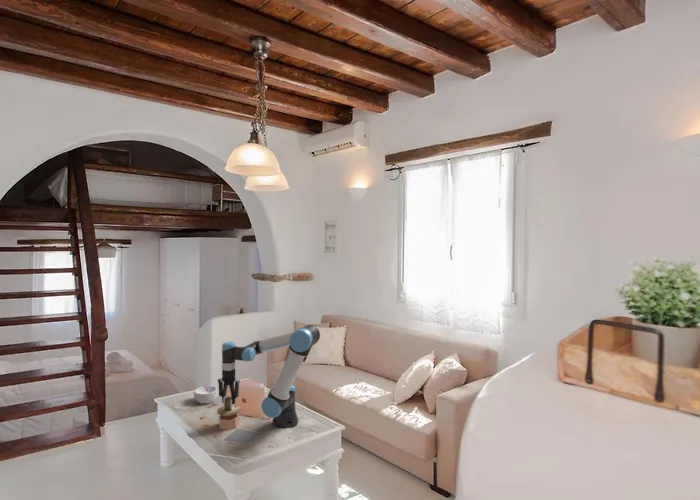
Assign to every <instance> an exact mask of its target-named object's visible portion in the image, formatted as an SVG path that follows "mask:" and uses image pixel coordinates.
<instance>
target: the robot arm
mask: <svg viewBox="0 0 700 500" xmlns="http://www.w3.org/2000/svg"><path fill="white" fill-rule="evenodd" d="M320 338H321V332H320V329H319V328H318V327H317V326H316V325H313V324H307V325H304V326H303V327H299V328H297V329H296V330H295V331H292V332H287V333H284V334H279V335H276V336H273V337H269V338H266V339H265V338H264V339H262V340H261V339H260V340H256V341H253V342H252V343H249V344H247V345H245V346H236V342H234V341H227V342H223V343H222V344H221V345H222V347H221V369H222V370H221V376H222V377H221V378H219V379H217V382H218V383H217V384H218V395H219V397H221V398H222V399H221V401H222V405H223V406H222V407H223V409H225V397H228V395H227V390H228V388H229V390H230V395H231V397H232V398H231V399H230V410H232V409H234V405H235V404H236V399H237V398H238V397H239V389H240V383H241V380H239V379H238V380H237V378H236V361H242V362H253V361H254V359H255V358H256V356H257V355H260V354H263V353H267V352H273V351H276V350H280V349H283V348H288V349H289V352H288V355H287V357H286V359H285V362H284V365H283V367H282V368H281V370H280V373H279V376H278V378H277V380H276V382H275V384H274V386H272V387H271V388H270V389H269V392H268V394H267V396H266V398H264V399H263V400H262V402H261V410H262V412H263V414H264V415H265V416H266V417H268V418H272V425H273V426H274V427H275V428H279V429H280V428H281V429H288V428H289V429H291V428H294V427H296V426H297V425H299V416H298V414H297V410H296V392H297V391H296V387H295V385H294V384H293V383H294V382H295V379H296V377H297V375H298V372H299V370H300V368H301V365H302V363H303V362H304V359H305V357H307V356H309V354H310V352H311V349H312V348H313V346H315V345H316V344H317V343H318V342H319V341H320Z"/></svg>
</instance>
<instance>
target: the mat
mask: <svg viewBox="0 0 700 500" xmlns="http://www.w3.org/2000/svg"><path fill="white" fill-rule="evenodd" d="M259 432H260V431H254V430H247V429H240V428H235V430H234V431H233V432H231V433H230V434H229V435H228V436H226V437H225V438H224V439H223V441H228V442H234V443H240V444H248V443H249V442H250V441H251V440H252V439H253V438H254V437H255V436H256V435H258V434H259Z"/></svg>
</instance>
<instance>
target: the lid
mask: <svg viewBox="0 0 700 500" xmlns="http://www.w3.org/2000/svg"><path fill="white" fill-rule="evenodd" d="M231 398H232V397H231V396H228V395H227V397H226V396H225V409H223V406H221V407H219V408H218V409H217V410H216V414H217V415H219V416H220V415H222V416H230V415H234V414H237V413H238V414H239V413H240V412H241V407H240V406H238V405H235V404H234V409H232V410H230V399H231Z"/></svg>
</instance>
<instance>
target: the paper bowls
mask: <svg viewBox="0 0 700 500" xmlns="http://www.w3.org/2000/svg"><path fill="white" fill-rule="evenodd" d="M218 395H219V388H218V386H213V385H206V386H201V387H198V388H195V390H194V391H193V399H194V401H197V402H198V403H199V404H201V405H202V404H203V405H204V404H210V403H213V402H214V400H215V399H216V398H217V397H218Z"/></svg>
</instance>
